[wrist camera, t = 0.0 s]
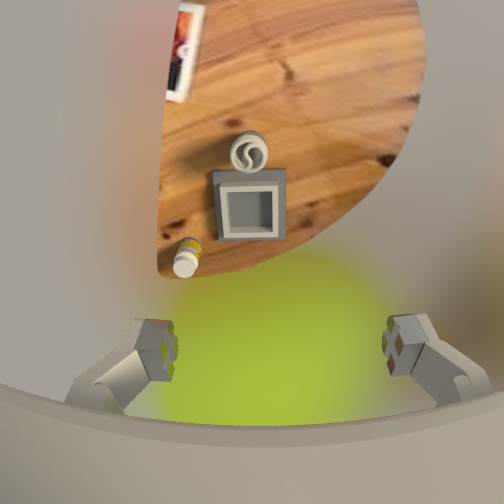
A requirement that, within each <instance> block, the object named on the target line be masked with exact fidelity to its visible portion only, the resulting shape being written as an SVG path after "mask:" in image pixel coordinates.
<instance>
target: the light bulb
mask: <svg viewBox="0 0 504 504" xmlns="http://www.w3.org/2000/svg"><path fill="white" fill-rule="evenodd" d="M267 156H268V151H267V147H266V142H265V140H264V138H263V136H262V135H261V134H259V133H258V132H256V131H245V132H242V133H241V134H240V135H238V137H237V138H236V139H235V141H234V143H233V144H232V146H231V149H230V162H231V164H232V166H233V167H234V169H236V170H237V171H240V172H243V173H255V172H257V171H259V170H261V169H262V168H263V166H264V165H265V163H266V161H267ZM241 161H242V162H244V163H242V162H241Z"/></svg>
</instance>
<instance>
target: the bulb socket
mask: <svg viewBox="0 0 504 504" xmlns="http://www.w3.org/2000/svg"><path fill="white" fill-rule="evenodd" d="M212 176H213V187H214V198H215V209H216V219H217V229H218V239H219V241H243V240H286V168H262V169H261V170H259V171H257V172H255V173H243V172H240V171H237V170H236V169H222V170H213V172H212Z"/></svg>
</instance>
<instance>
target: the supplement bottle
mask: <svg viewBox="0 0 504 504" xmlns="http://www.w3.org/2000/svg"><path fill="white" fill-rule="evenodd" d="M202 249H203V247H202V244H201V242H200V241H199V240H198V239H196V238H194V237H187V238H185V239H183V240H182V242H181V244H180V246H179V248H178V251H177V253H176V256H175V258H174V266H173V270H174V272H175V274H176V275H178V276H179V277H182V278H188V277H190V276H192V275H193V273H194V270H195V269H196V268H197V266H198V263H199V260H200V256H201V253H202Z"/></svg>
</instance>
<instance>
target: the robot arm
mask: <svg viewBox="0 0 504 504" xmlns="http://www.w3.org/2000/svg"><path fill="white" fill-rule="evenodd" d="M386 324H387V326H388V328H387V329H386V330H385V331H384V333H383V336H382V350H383V353H384V355H385V356H386V357H387V358H389V359H388V362H387V366H388V369H389V372H390V375H391V376H401V375H410V374H411V375H410V376H411V377H412V378H413V379H414V380H415V381H416V382H417V383H418V384H419V385H420V386H421V387H422V388H424V390H425V391H426V392H427V393H428V394H429V395H430V396H431V397H432V398H433V399H434V400H435V401H436V402H437V403H438V404H437V405H436V407H434V408H430V409H425V410H420V411H415V412H409V413H404V414H398V415H392V416H386V417H379V418H372V419H364V420H356V421H347V422H338V423H325V424H311V425H291V426H232V425H210V424H195V423H183V422H173V421H164V420H155V419H148V418H140V417H134V416H128V415H126V414H125V413H124V411H123V409H124V408H125V407H126V406H127V405H128V404H129V403H130V402H131V401H132V400H133V399H134V398H135V397H136V396H137V395H138V394H139V393H140V392H141V391H142V390H143V389H144V388H145V387H146V386H147V384H149V383H150V381H166V382H171V379H172V376H173V372H174V366H173V362H174V361H175V360H176V359H177V356H178V339H177V336H176V335H175V334H174V333H173V330H174V325H173V322H172V321H171V320H157V319H140V318H134V319H133V320H132V322H131V324H130V326H129V329H128V331H127V333H126V335H125V338H124V340H123V343H122V345H121V347H120V348H116V349H115V350H113V351H112V352H110V353H109V354H108V355H106V356H105V357H104V358H102V359H101V360H100V361H99V362H97V363H96V364H94V365H93V366H91V367H90V368H89V369H87V370H86V371H85V372H83V373H82V374H81V375H79V376H78V377H77V378H75V379H74V381H73V384H72V386H71V388H70V390H69V392H68V395H67V397H66V399H65V402H60V401H56V400H52V399H48V398H45V397H41V396H37V395H34V394H31V393H27V392H24V391H21V390H18V389H15V388H12V387H9V386H6V385H3V384H0V504H504V389H501V390H498V391H494V389H493V387H492V385H491V383H490V381H489V378H488V376H487V374H486V372H485V370H484V369H483V368H481V367H480V366H478V365H477V364H476V363H474V362H473V361H472V360H470V359H469V358H467V357H466V356H465V355H463V354H461V353H460V352H459V351H457V350H456V349H454V348H453V347H452V346H450V345H449V344H447V343H446V342H444V341H440V340H439V338H438V336H437V334H436V332H435V330H434V328H433V326H432V324H431V322H430V320H429V318H428V316H427V314H426V313H424V312H422V313H413V314H403V315H392V316H389V318H388V320H387V323H386Z"/></svg>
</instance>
